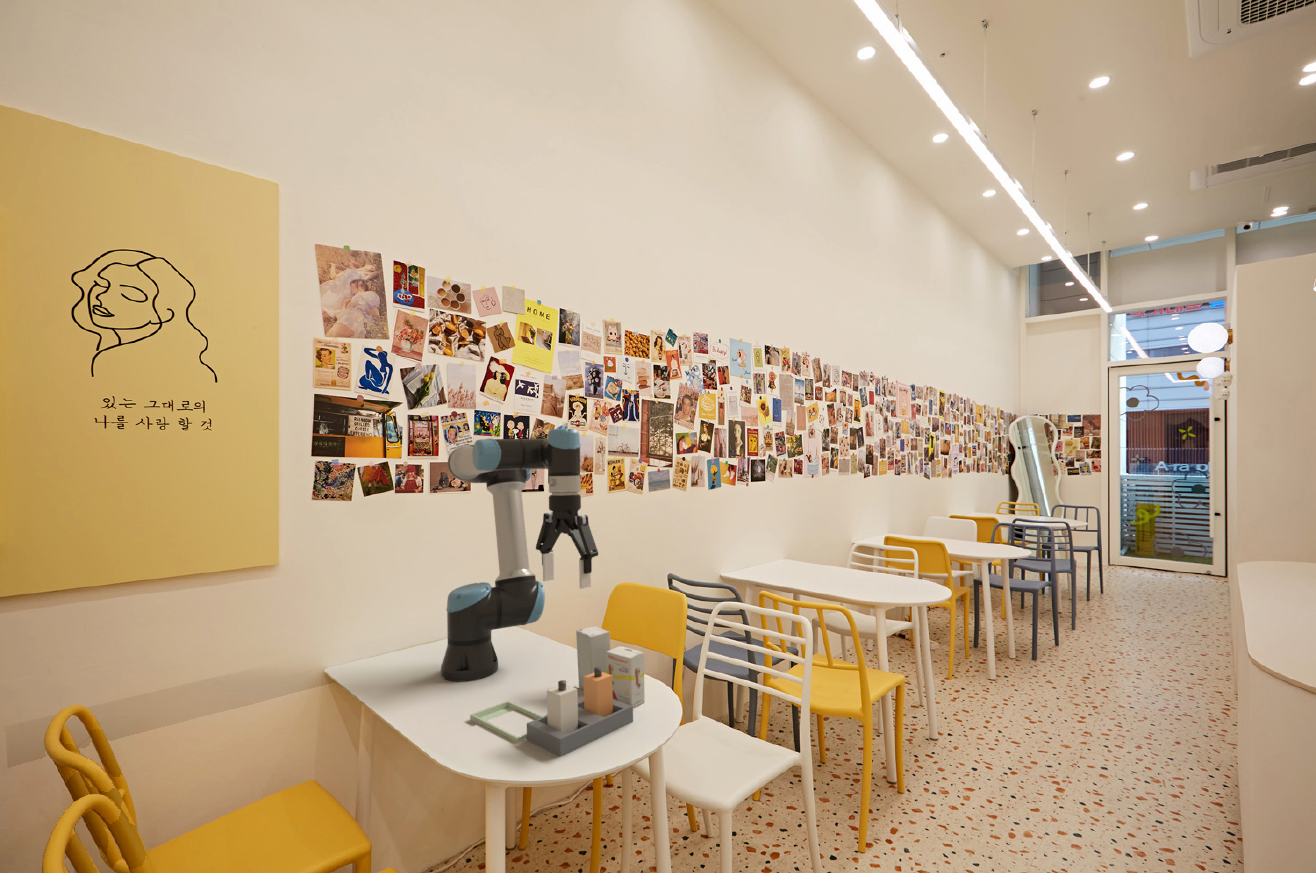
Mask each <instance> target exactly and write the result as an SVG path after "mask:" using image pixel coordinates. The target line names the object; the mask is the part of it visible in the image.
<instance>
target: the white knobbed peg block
mask: <svg viewBox="0 0 1316 873" xmlns="http://www.w3.org/2000/svg"><path fill="white" fill-rule="evenodd" d="M557 682H558V683H557V686H554V687H552V688H550V689H547V690H546V700H547V701H546V704H547V706H546V707H547V708H546V709H547V712H546V715H547V721H548V726H550V727H552V728H554V729H557V730H559V731H561V732H563V733H565V734H569V733H571V732H573V731H575V730H577V729H578V702H579V701H578V698H579V697H578V688H576V687H573V686H570V685H568V684H567V681H566V680H564V679H563V680H558V681H557Z"/></svg>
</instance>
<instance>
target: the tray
mask: <svg viewBox="0 0 1316 873" xmlns="http://www.w3.org/2000/svg"><path fill="white" fill-rule="evenodd" d="M516 710H517V711H519V712H521V713H524V714H525V715H528V716H530V717H533V718H534V719H539V718H541V717H543V716H544V715H542V714H539V713H537V712H535V711H533V710H531V709H528V708H526V707H523V706H522V705H519V704H517V703H515V702H513V701H510V700H506V701H503V702H501V703H498V704H496V705H493V706H490V707H487V708H485V709H482V710H479V711H477V712H474V713H470V714H469V716H470V717H469V718H470V721H471V722H473V723H475V724H476V725H479V724H480V725H483V726H484V727H486V728H487V729H490V730H492V731H494V732H495V733H498V734H499V735H502V736H503V737H505V738H507V739H510V740H511V741H513V742H515V743H520V742H521V741H524V740H527V732H526V733H524V734H522V735H519V736H517V735H515V734H513V733H511V732H509V731H507V730H505V729H503V728H501V727H499V726H497V725H495V724H494V723H492V722H489V721H490V720H492V719H496V718H498V717H500V716H503V715H506V714H508V713H511V712H514V711H516Z"/></svg>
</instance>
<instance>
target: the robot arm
mask: <svg viewBox="0 0 1316 873" xmlns="http://www.w3.org/2000/svg"><path fill="white" fill-rule="evenodd" d="M580 440H581V439H580V432H579V431H578V430H577V429H575V428H555V429H554V428H553V429H549V431H548V433H547V438H517V439H515V438H510V439H509V438H507V439H506V438H497V439H496V438H484V439H477V440H475V441H474V444H469V445H468V444H467V445H463V446H459V447H457V448H455V449H453V451H451V453H450V454H449V456H448V458H447V469H448V471H449V472H450V474H451V475H452V476H453V477H454V478H456V479H457V480H459V481H462V482H465V483H470V484H485V485H486V491H488V492H489V493H490V494H491V495H492V502H493V503H492V504H493V512H494V513H493V514H494V523H495V524H494V525H495V538H496V547H497V559H498V568H499V573H498V576H497V578H496V579H495V580H494V586H491V584H490V583H489V582H473V583H469V584H464V585H462V586H459V587H456V588H455V589H453V590H451V592H450V593H449V594H448V596H447V603H446V614H447V615H446V620H447V622H446V626H447V633H446V634H447V646H446V649H445V653H444V656H443V658H442V663H441V666H440V676H441V678H443V679H445V680H447V681H452V682H453V681H455V682H465V681H467V682H468V681H474V680H480V679H482V678H486V677H489V676H491V675H493V674H495V673H496V672H497V671H498V669H499V659H498V656H497V652H496V651H495V647H494V644H493V642H492V631H493V630H500V629H505V628H512V627H517V626H518V627H519V626H526V625H528V624H532V623H536V622H538V621H539V619H540V618H541V617H542V615H543V611H544V608H545V601H546V600H545V599H546V595H545V588H544V584H543V583H542V582H541V581H540V580H537V579H536V574H535V573H534V572H532V571H531V569H530V564H529V554H528V552H529V551H528V542H527V534H526V532H527V531H526V523H525V515H524V514H525V512H524V504H523V503H524V502H523V493H522V491H523V490H524V489H525V487H526V486H527V484H526V483H527V482H528V481H529V480H530V478H531V477H532V476H531V475H532V471H531V470H548V492H549V493H550V495H549V496H548V510H549V511H551V512H545V513H543V518H542V525H541V527H540V531H539V533H538V538H537V542H536V543H535V544H536V545H535V550H536V551H539V552H540V553H541V565H542V581H543V582H548V581H553V580H555V577H554V576H555V574H554V572H555V571H554V568H555V567H554V565H555V564H554V550H553V548H554V546H555V544H556V542H557V540H558V539H559V537H560V536H561V534H564V535H567V536H568V537H570V538H571V540H572V542H573V544H574V546H575V547H576V550H577V551H578V553H579V556H580V558H579V559H578V568H579V569H578V573H579V574H578V576H579V577H578V578H579V582H578V584H579V589H581V590H582V589H586V588H590V587H591V586H592V585H591V584H592V583H591V581H592V580H591V576H592V575H591V574H592V571H593V570H592V569H593V566H592V565H593V564H592V563H593V562H592V560H593V558H595V557H598V556H599V551H598V548H597V545H596V542H595V540H594V536H593V533H592V530H591V527H590V524H589V523H590V522H589V516H588V515H587V514H583V515H579V510H581V509H582V496H581V494H579V493H580V492H582V490H581V486H582V485H581V445H582V444H581V441H580Z"/></svg>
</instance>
